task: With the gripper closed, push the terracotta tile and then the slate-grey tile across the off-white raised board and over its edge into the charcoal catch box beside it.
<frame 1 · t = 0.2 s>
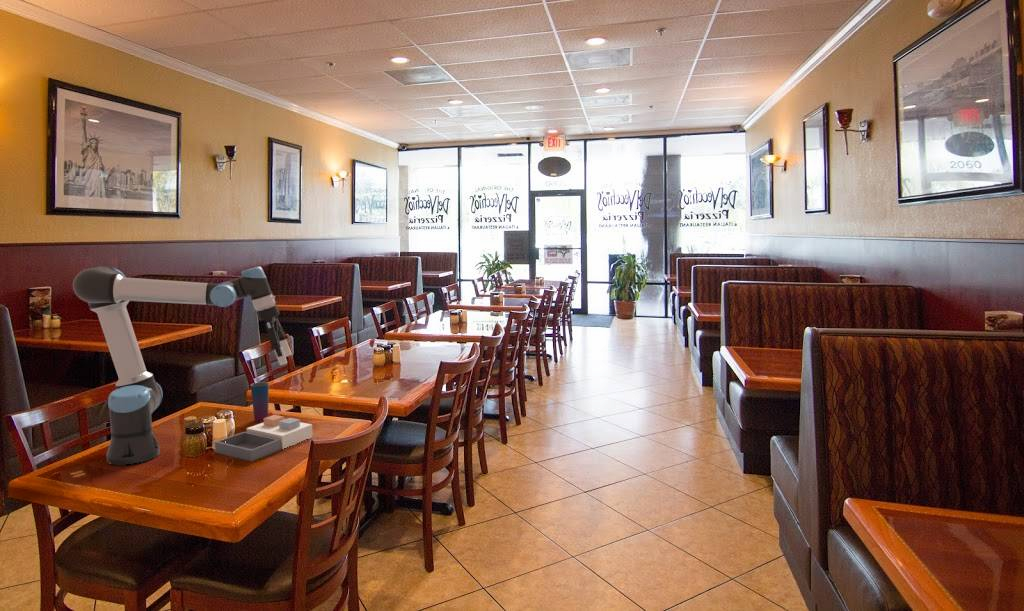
hand: (286, 359, 223), 28 cm above the table, tool tilted 15°, fingers open, 13 cm apart
terracotta tile: (274, 424, 218), point 5 cm above the table, touching raised board
cup: (261, 420, 239), on the table
slate tile: (289, 427, 214), point 5 cm above the table, touching raised board
catch box: (248, 451, 203), on the table
raised board: (280, 439, 216), on the table
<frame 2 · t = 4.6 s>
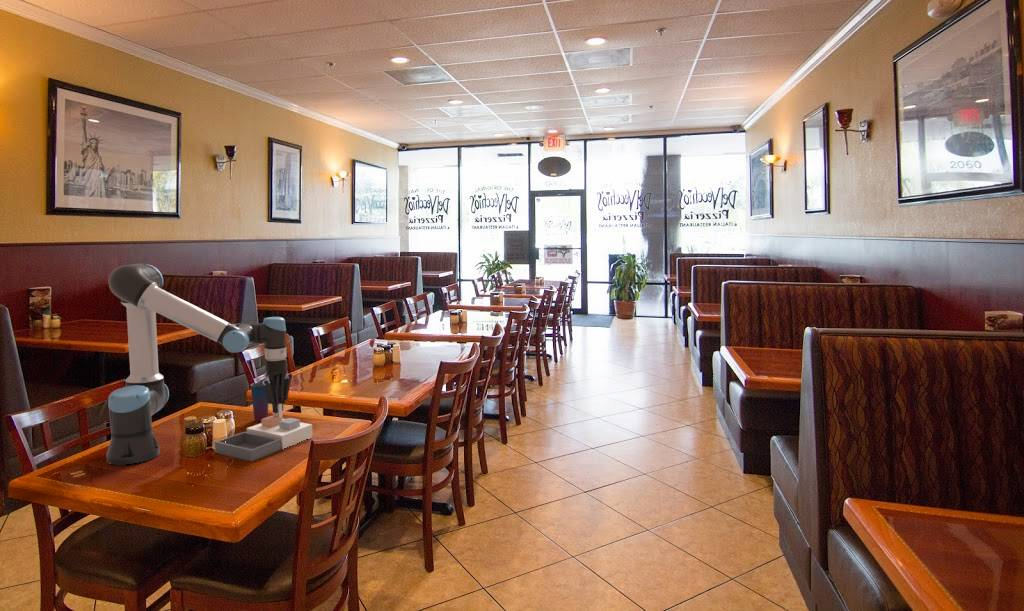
hand: (278, 420, 220), 6 cm above the table, tool pointing down, fingers closed
terracotta tile: (272, 424, 217), point 5 cm above the table, touching gripper, raised board
everything else where it was.
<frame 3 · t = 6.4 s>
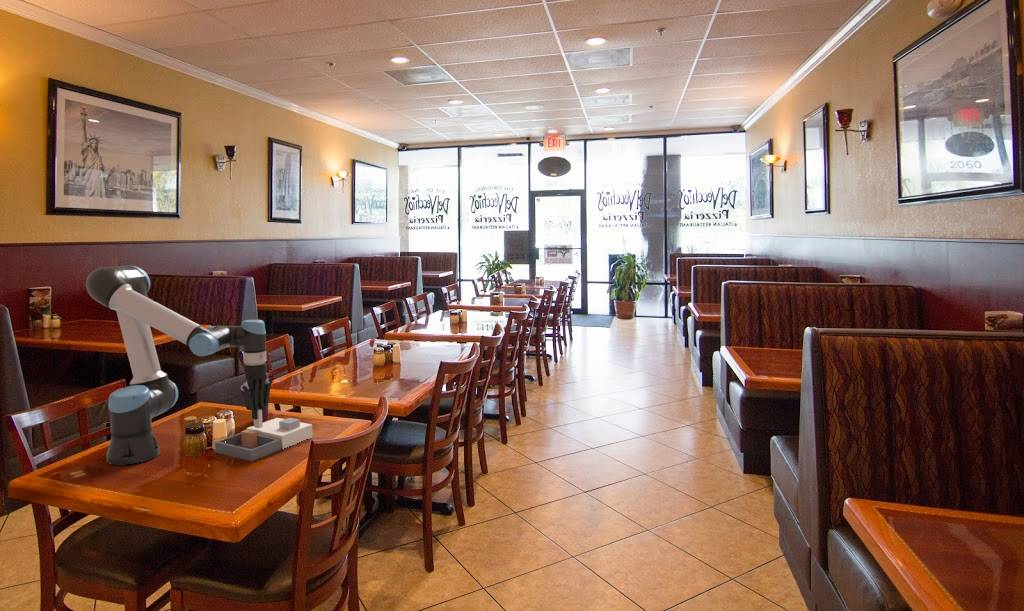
hand: (258, 427, 212), 6 cm above the table, tool pointing down, fingers closed
terracotta tile: (252, 437, 209), point 3 cm above the table, tilted 90°, touching catch box
everything else where it was.
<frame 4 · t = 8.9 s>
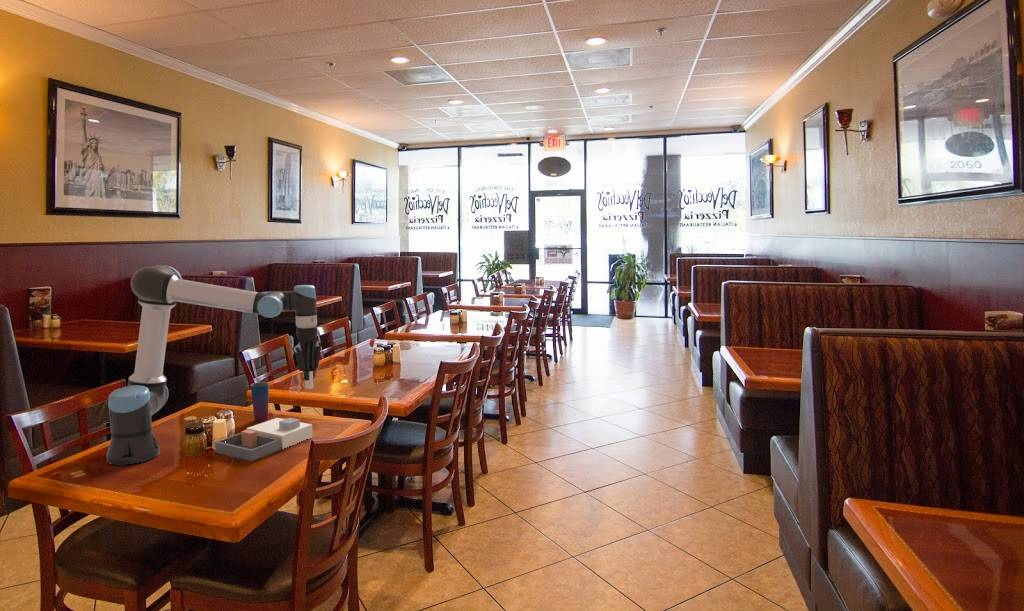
hand: (309, 387, 222), 17 cm above the table, tool pointing down, fingers closed
nothing on the table moved.
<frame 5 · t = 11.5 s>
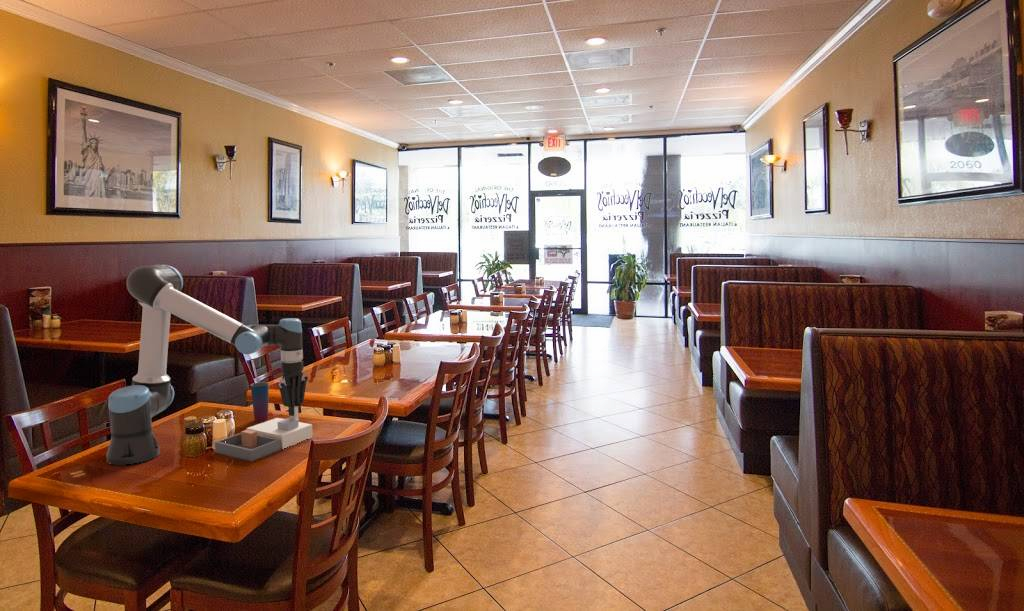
hand: (294, 423, 217), 6 cm above the table, tool pointing down, fingers closed
slate tile: (288, 427, 214), point 5 cm above the table, touching gripper
everything else where it was.
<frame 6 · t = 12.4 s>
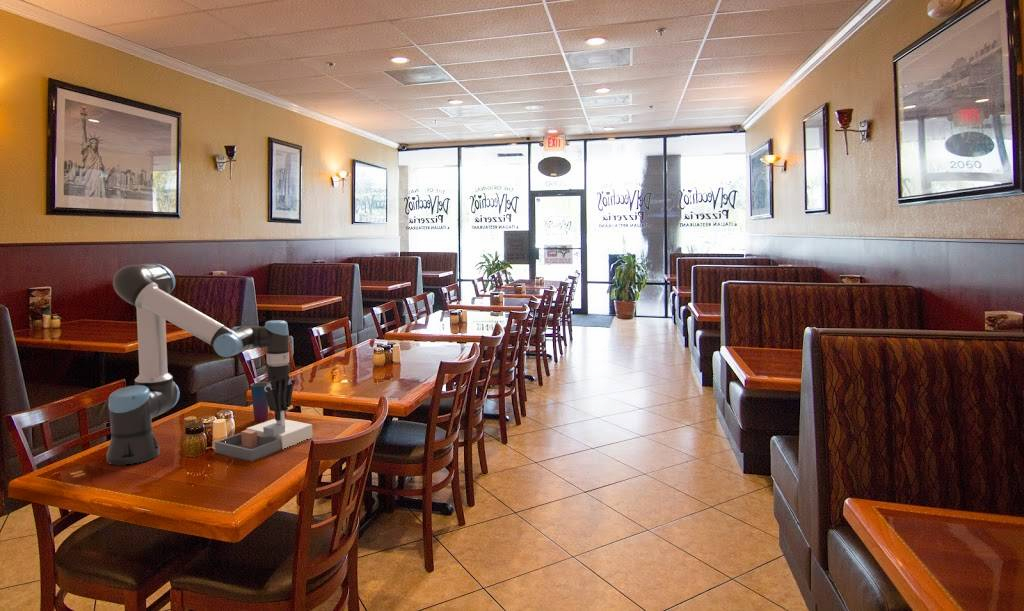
hand: (280, 428, 211), 6 cm above the table, tool pointing down, fingers closed
slate tile: (274, 432, 208), point 5 cm above the table, touching gripper
everything else where it was.
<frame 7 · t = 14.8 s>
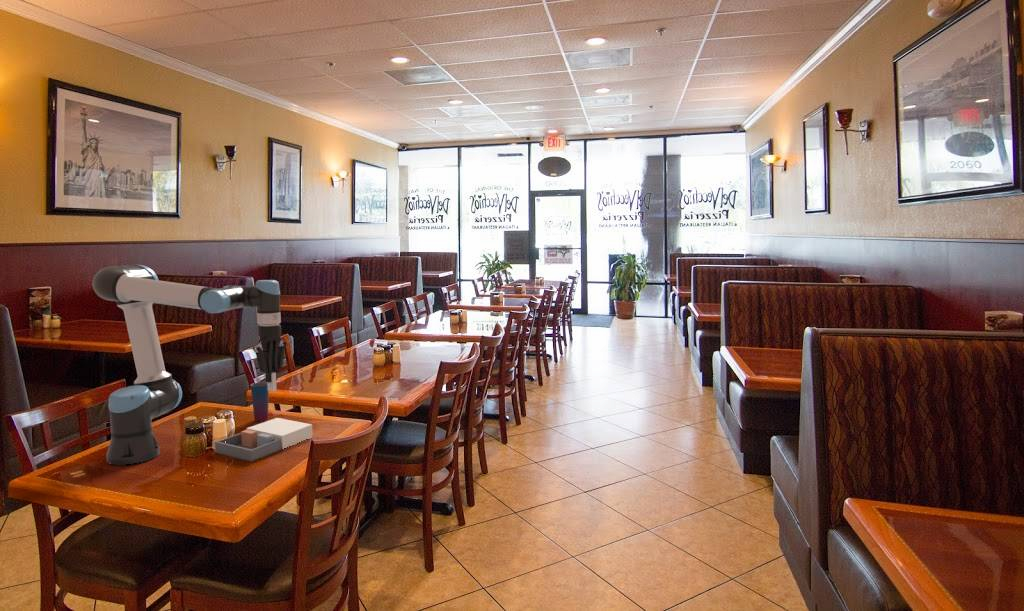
hand: (272, 390, 207), 20 cm above the table, tool pointing down, fingers closed
slate tile: (268, 440, 206), point 3 cm above the table, tilted 90°, touching catch box
everything else where it was.
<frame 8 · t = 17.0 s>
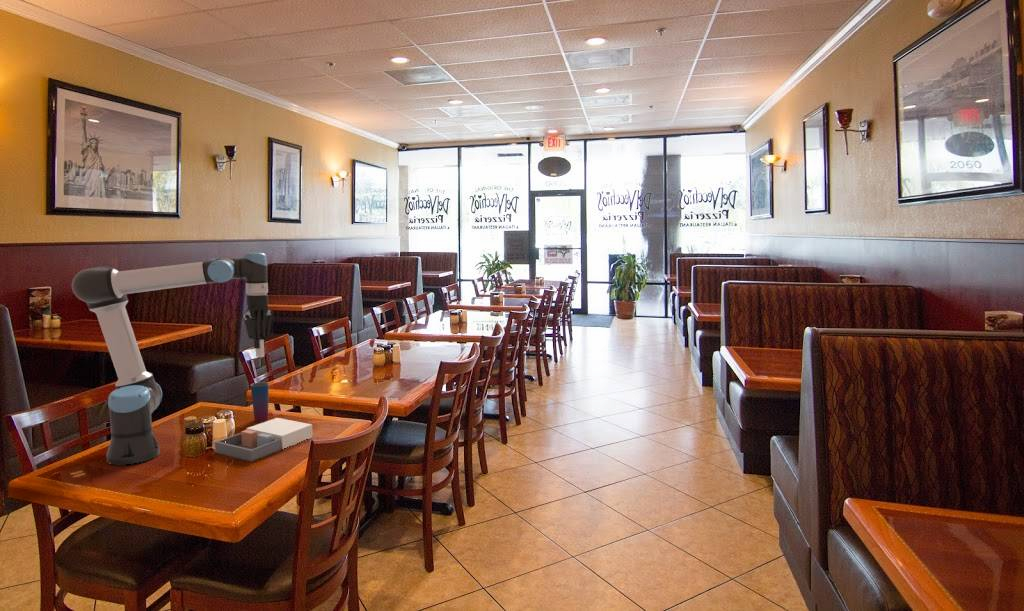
hand: (260, 356, 220), 29 cm above the table, tool pointing down, fingers closed
nothing on the table moved.
at the end: terracotta tile inside the target area on the catch box (6.4 cm from its centre), point 3.0 cm above the catch box's base; slate tile inside the target area on the catch box (6.5 cm from its centre), point 3.0 cm above the catch box's base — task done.
